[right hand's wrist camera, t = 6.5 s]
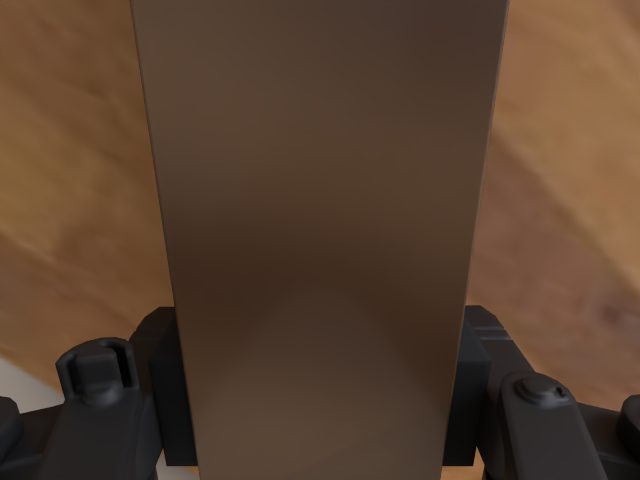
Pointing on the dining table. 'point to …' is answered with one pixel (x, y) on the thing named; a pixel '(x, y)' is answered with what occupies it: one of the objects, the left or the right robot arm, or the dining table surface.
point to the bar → (319, 221)
